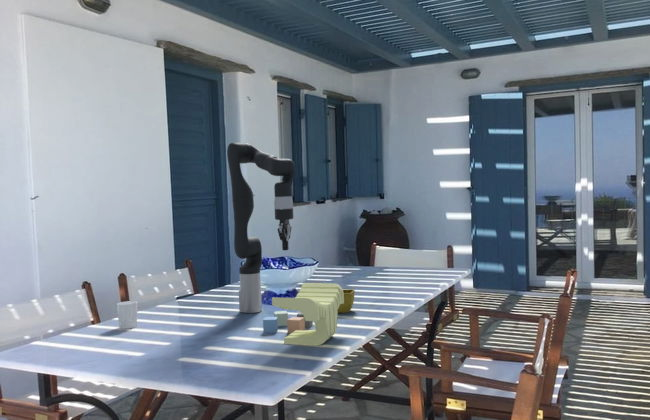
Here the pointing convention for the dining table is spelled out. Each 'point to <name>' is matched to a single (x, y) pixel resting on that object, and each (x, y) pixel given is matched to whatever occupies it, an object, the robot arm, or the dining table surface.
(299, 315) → the charcoal block
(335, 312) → the slatted curved stool
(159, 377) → the dining table surface
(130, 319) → the white cup
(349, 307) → the flower pot
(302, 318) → the terracotta block
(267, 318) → the blue block
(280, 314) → the sage block
